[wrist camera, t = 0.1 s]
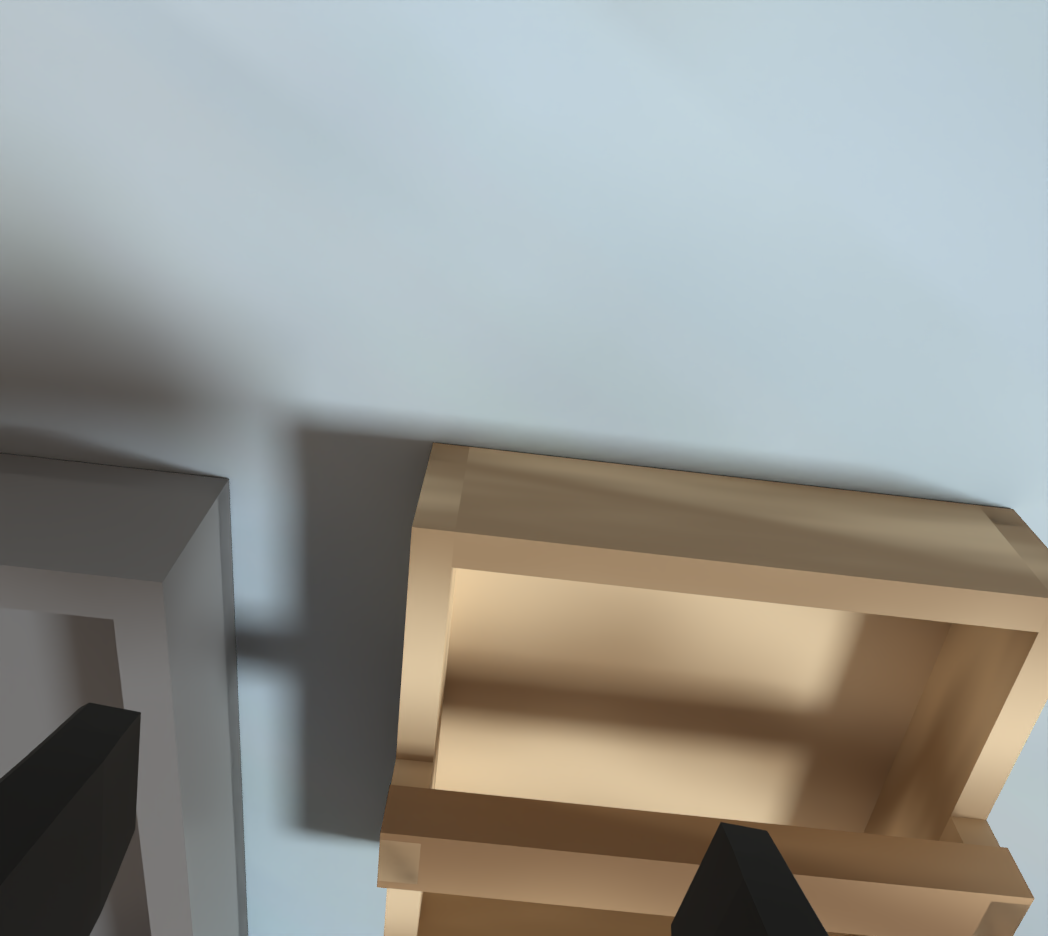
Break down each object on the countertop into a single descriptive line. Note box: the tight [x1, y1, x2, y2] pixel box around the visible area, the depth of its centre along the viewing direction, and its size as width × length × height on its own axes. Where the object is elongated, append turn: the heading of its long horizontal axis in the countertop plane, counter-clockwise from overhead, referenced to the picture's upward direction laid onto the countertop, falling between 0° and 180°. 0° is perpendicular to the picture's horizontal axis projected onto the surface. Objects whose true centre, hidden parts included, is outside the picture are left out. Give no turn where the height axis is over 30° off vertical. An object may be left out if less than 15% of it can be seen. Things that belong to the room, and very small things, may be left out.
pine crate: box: [377, 443, 1048, 936], centre depth 21 cm, size 13×13×6 cm
